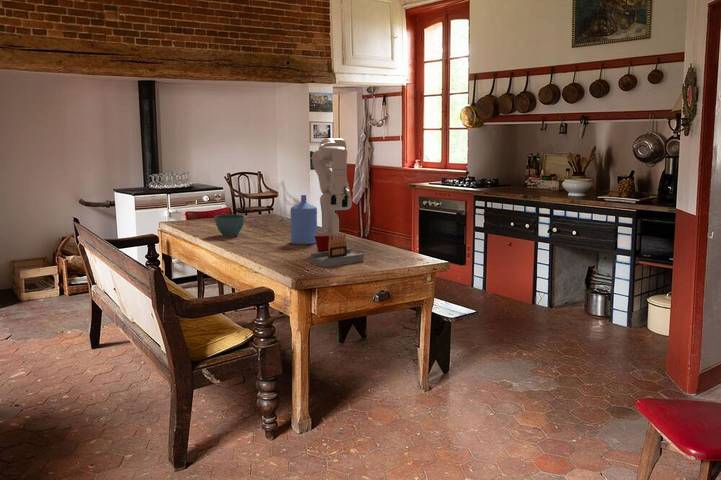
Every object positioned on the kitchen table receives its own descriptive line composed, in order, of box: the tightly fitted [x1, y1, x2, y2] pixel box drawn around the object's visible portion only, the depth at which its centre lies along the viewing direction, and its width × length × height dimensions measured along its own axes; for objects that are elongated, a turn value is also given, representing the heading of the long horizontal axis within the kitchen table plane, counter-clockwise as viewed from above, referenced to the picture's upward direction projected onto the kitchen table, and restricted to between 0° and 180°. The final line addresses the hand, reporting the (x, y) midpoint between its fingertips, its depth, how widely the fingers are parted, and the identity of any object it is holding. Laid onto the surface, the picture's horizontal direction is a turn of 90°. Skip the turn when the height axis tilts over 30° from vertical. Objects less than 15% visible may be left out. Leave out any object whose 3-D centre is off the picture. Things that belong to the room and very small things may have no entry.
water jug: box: [290, 194, 318, 245], centre depth 386 cm, size 16×16×28 cm
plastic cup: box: [314, 232, 334, 253], centre depth 348 cm, size 11×11×12 cm
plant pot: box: [214, 214, 245, 238], centre depth 411 cm, size 18×18×12 cm
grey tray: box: [310, 247, 365, 268], centre depth 331 cm, size 12×24×5 cm, turn 128°
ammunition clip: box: [328, 231, 348, 258], centre depth 330 cm, size 11×2×12 cm, turn 128°
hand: (339, 205), depth 338 cm, fingers open, 9 cm apart
